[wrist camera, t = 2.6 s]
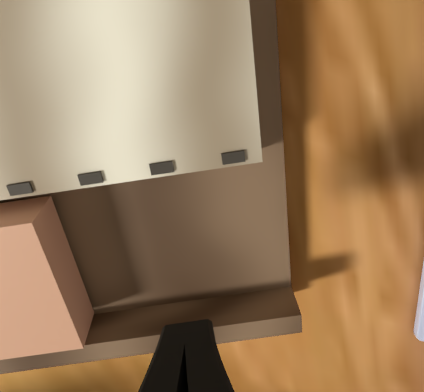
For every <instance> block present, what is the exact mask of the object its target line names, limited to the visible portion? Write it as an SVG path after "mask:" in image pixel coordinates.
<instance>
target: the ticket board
mask: <svg viewBox="0 0 424 392" xmlns="http://www.w3.org/2000/svg"><path fill="white" fill-rule="evenodd" d="M46 196H51V197H52V200H53V203H54V206H55V208H56V211H57V214H58V216H59V219H60V222H61V224H62V227H63V230H64V232H65V235H66V238H67V240H68V243H69V246H70V249H71V251H72V254H73V257H74V259H75V262H76V265H77V267H78V270H79V273H80V275H81V278H82V281H83V284H84V286H85V289H86V292H87V294H88V297H89V300H90V302H91V305H92V308H93V310H94V315H93V319H92V322H91V325H90V329H89V332H88V335H87V338H86V342H85V345H84V348H83V349H76V350H68V351H61V352H54V353H47V354H40V355H33V356H25V357H18V358H11V359H4V360H0V374H4V373H12V372H19V371H26V370H33V369H40V368H48V367H55V366H62V365H69V364H76V363H84V362H91V361H98V360H105V359H113V358H120V357H127V356H134V355H141V354H149V353H154V352H155V350H156V347H157V344H158V341H159V338H160V335H161V331H162V328H163V327H164V326H165V325H169V324H176V323H183V322H190V321H197V320H204V319H209V320H210V321H212V323H213V329H214V334H215V340H216V344H221V343H228V342H235V341H242V340H250V339H257V338H264V337H271V336H279V335H286V334H293V333H300V332H302V320H301V313H300V310H299V307H298V304H297V301H296V298H295V296H294V293H293V290H292V287H291V272H290V254H289V236H288V217H287V199H286V181H285V163H284V144H283V126H282V108H281V90H280V71H279V53H278V35H277V16H276V0H0V203H5V202H12V201H19V200H25V199H32V198H39V197H46Z"/></svg>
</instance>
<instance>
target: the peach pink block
mask: <svg viewBox="0 0 424 392" xmlns="http://www.w3.org/2000/svg"><path fill="white" fill-rule="evenodd" d="M93 315H94V310H93V308H92V305H91V302H90V300H89V297H88V294H87V292H86V289H85V286H84V284H83V281H82V278H81V275H80V273H79V270H78V267H77V265H76V262H75V259H74V257H73V254H72V251H71V249H70V246H69V243H68V240H67V238H66V235H65V232H64V230H63V227H62V224H61V222H60V219H59V216H58V214H57V211H56V208H55V206H54V203H53V200H52V197H51V196H46V197H39V198H32V199H25V200H19V201H12V202H5V203H0V360H4V359H11V358H18V357H25V356H33V355H40V354H47V353H54V352H61V351H68V350H76V349H83V348H84V345H85V342H86V338H87V335H88V332H89V329H90V325H91V322H92V319H93Z"/></svg>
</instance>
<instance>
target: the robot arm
mask: <svg viewBox="0 0 424 392" xmlns="http://www.w3.org/2000/svg"><path fill="white" fill-rule="evenodd" d="M414 334H415V336H416V337H417V339H418V340H420V341H424V262H423V269H422V276H421V283H420V290H419V297H418V304H417V311H416V318H415V325H414ZM138 392H234V390H233V388H232V385H231V383H230V380H229V378H228V376H227V373H226V371H225V368H224V366H223V363H222V361H221V358H220V355H219V352H218V349H217V345H216V340H215V334H214V329H213V323H212V321H210V320H209V319H204V320H197V321H190V322H183V323H176V324H169V325H165V326H164V327H163V328H162V331H161V335H160V338H159V341H158V344H157V347H156V350H155V352H154V355H153V358H152V360H151V363H150V365H149V368H148V370H147V373H146V375H145V377H144V380H143V382H142V384H141V387H140V389H139V391H138Z"/></svg>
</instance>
